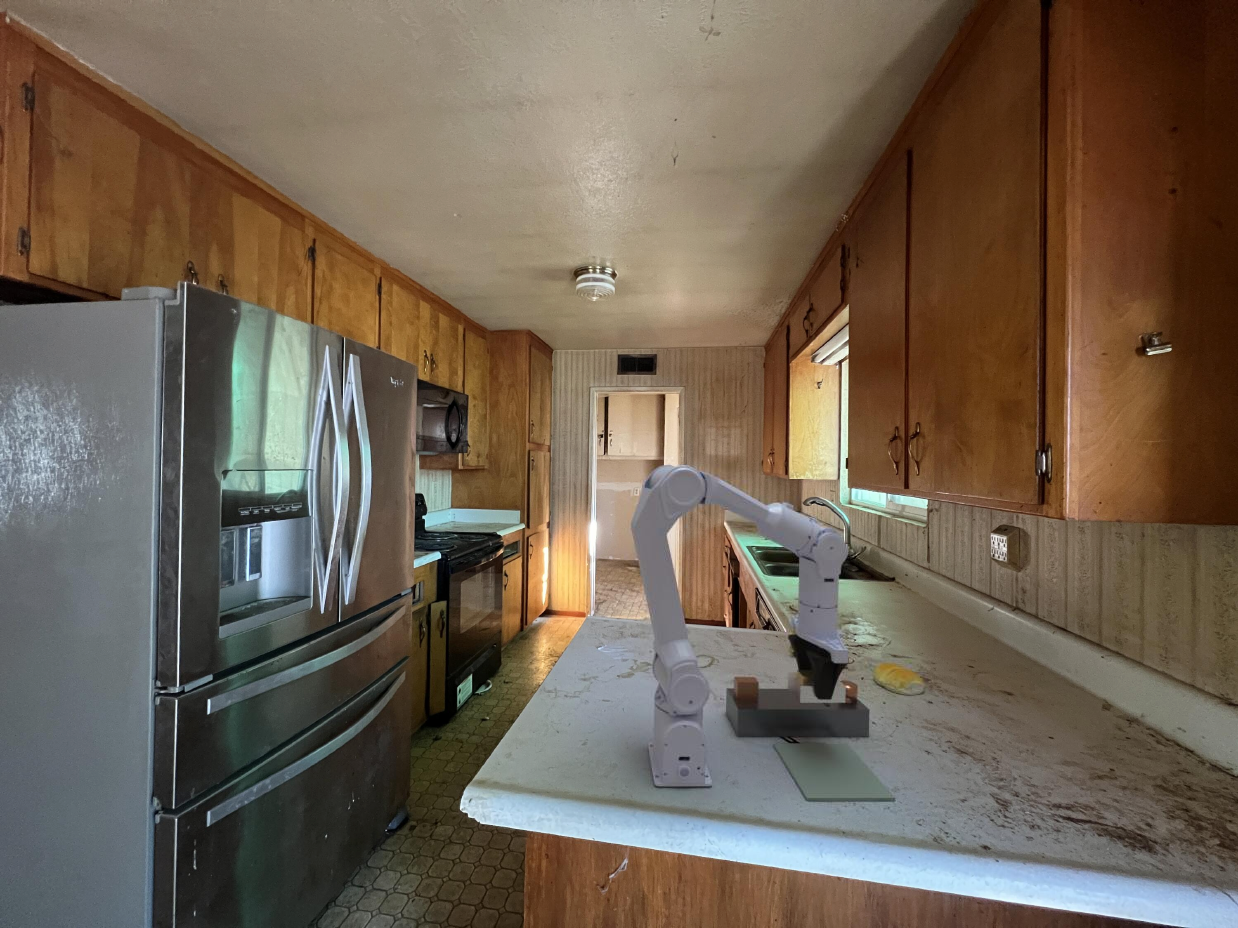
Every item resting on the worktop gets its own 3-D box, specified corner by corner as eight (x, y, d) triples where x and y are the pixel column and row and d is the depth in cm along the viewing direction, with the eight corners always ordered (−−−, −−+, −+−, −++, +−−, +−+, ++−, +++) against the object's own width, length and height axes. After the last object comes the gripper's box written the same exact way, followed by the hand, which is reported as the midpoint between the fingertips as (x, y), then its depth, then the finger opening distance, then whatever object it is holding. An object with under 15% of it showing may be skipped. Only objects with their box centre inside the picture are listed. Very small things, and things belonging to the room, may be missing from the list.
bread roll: (895, 674, 101) (895, 656, 101) (931, 694, 92) (932, 674, 92) (863, 677, 99) (863, 658, 99) (897, 698, 90) (897, 677, 90)
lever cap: (845, 702, 70) (845, 680, 70) (800, 702, 70) (800, 679, 70) (829, 687, 75) (830, 666, 75) (787, 687, 74) (788, 666, 74)
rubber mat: (895, 800, 62) (895, 797, 62) (806, 800, 61) (806, 797, 61) (847, 745, 74) (847, 743, 74) (773, 745, 73) (773, 743, 73)
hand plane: (868, 736, 76) (870, 690, 76) (737, 736, 75) (738, 689, 75) (846, 713, 83) (847, 671, 83) (725, 713, 82) (726, 670, 82)
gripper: (870, 618, 65) (867, 714, 65) (820, 590, 80) (818, 669, 80) (821, 618, 65) (818, 714, 65) (780, 590, 79) (778, 669, 79)
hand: (815, 689), depth 72 cm, fingers closed on lever cap, 5 cm apart
